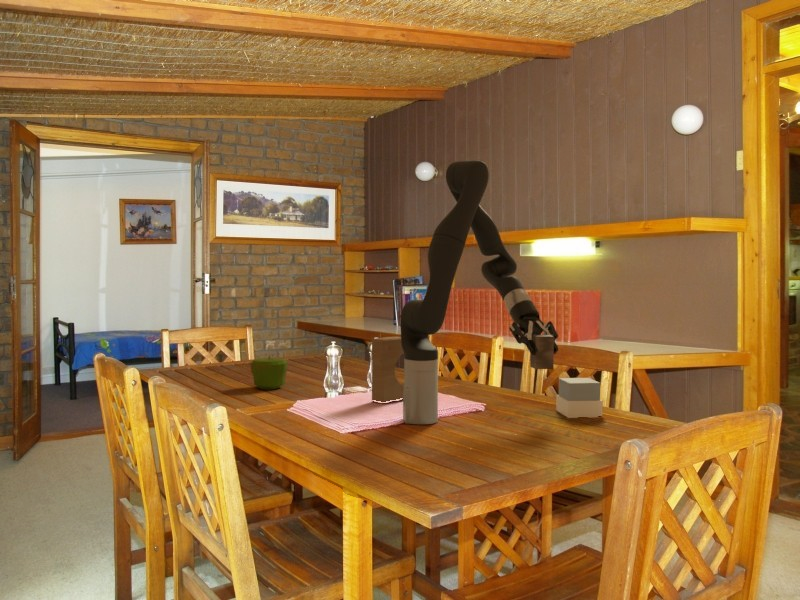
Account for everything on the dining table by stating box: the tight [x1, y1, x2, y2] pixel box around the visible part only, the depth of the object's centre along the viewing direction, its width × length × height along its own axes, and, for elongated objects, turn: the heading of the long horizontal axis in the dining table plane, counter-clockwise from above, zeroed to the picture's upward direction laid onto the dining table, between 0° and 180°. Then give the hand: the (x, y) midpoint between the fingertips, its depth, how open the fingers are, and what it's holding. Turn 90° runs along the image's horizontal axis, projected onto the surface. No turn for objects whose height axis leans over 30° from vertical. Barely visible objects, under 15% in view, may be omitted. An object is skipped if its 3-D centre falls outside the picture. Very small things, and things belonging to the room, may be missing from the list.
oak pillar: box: [529, 334, 555, 370], centre depth 188 cm, size 5×5×9 cm
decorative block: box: [371, 335, 404, 402], centre depth 214 cm, size 11×6×20 cm, turn 135°
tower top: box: [558, 377, 601, 401], centre depth 195 cm, size 9×9×5 cm
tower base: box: [555, 394, 603, 419], centre depth 196 cm, size 10×10×5 cm
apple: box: [250, 356, 288, 391], centre depth 237 cm, size 12×12×11 cm
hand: (545, 352), depth 186 cm, fingers closed on oak pillar, 6 cm apart
